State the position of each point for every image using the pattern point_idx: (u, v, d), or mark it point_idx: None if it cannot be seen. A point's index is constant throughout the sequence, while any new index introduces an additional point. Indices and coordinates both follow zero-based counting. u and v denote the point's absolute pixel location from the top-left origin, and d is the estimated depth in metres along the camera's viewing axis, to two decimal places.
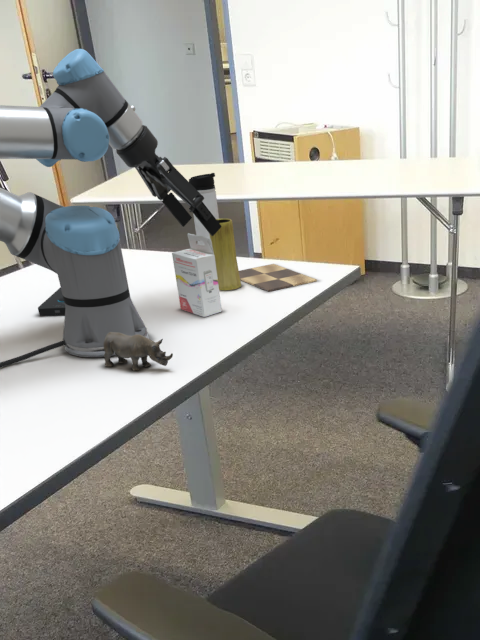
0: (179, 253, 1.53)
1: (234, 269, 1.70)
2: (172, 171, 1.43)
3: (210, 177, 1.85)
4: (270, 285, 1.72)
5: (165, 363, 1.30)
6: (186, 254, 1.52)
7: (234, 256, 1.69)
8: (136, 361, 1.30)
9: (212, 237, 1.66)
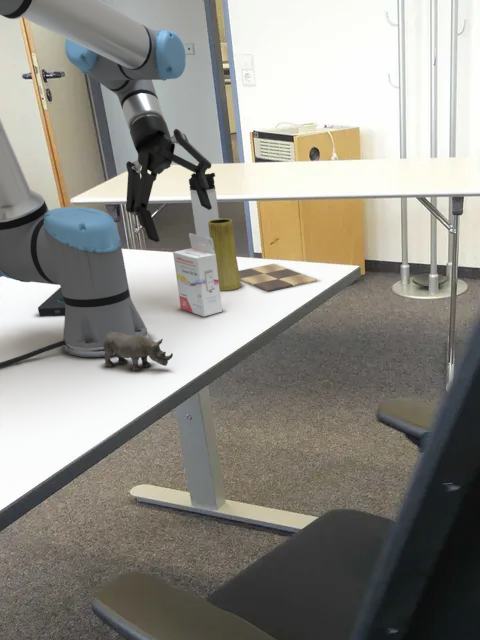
0: (180, 252, 1.53)
1: (234, 269, 1.70)
2: (187, 141, 1.49)
3: (210, 177, 1.85)
4: (270, 285, 1.72)
5: (165, 363, 1.30)
6: (187, 253, 1.52)
7: (234, 256, 1.69)
8: (136, 361, 1.30)
9: (212, 237, 1.66)
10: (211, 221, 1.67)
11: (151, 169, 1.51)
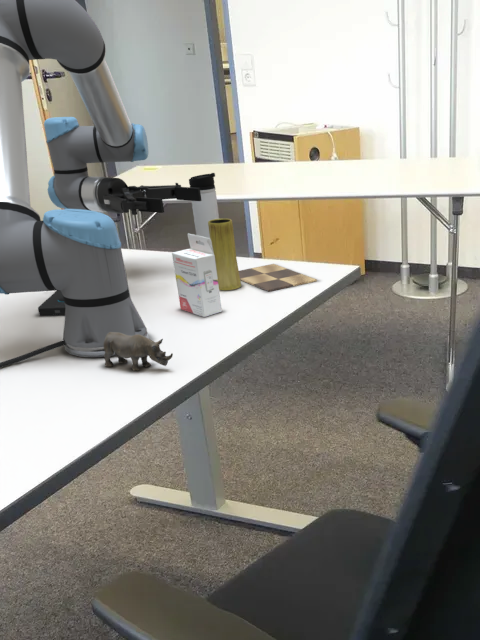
0: (179, 253, 1.53)
1: (234, 269, 1.70)
2: None
3: (210, 177, 1.85)
4: (270, 285, 1.72)
5: (165, 363, 1.30)
6: (186, 254, 1.52)
7: (234, 256, 1.69)
8: (136, 361, 1.30)
9: (212, 237, 1.66)
10: (211, 221, 1.67)
11: (131, 194, 1.70)
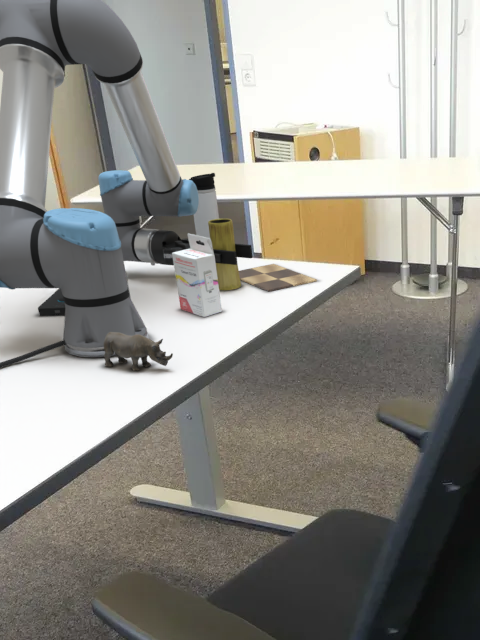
0: (179, 253, 1.53)
1: (234, 269, 1.70)
2: None
3: (210, 177, 1.85)
4: (270, 285, 1.72)
5: (165, 363, 1.30)
6: (186, 254, 1.52)
7: None
8: (136, 361, 1.30)
9: (212, 237, 1.66)
10: (211, 221, 1.67)
11: None
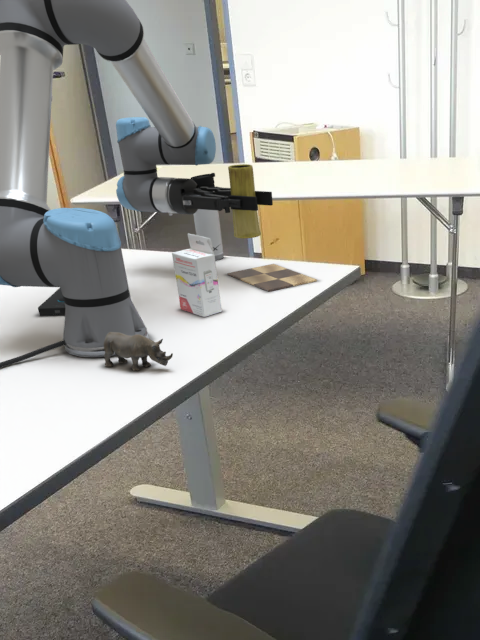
0: (179, 253, 1.53)
1: (254, 216, 1.67)
2: None
3: (210, 177, 1.85)
4: (270, 285, 1.72)
5: (165, 363, 1.30)
6: (186, 254, 1.52)
7: None
8: (136, 361, 1.30)
9: (232, 183, 1.64)
10: (231, 167, 1.64)
11: None
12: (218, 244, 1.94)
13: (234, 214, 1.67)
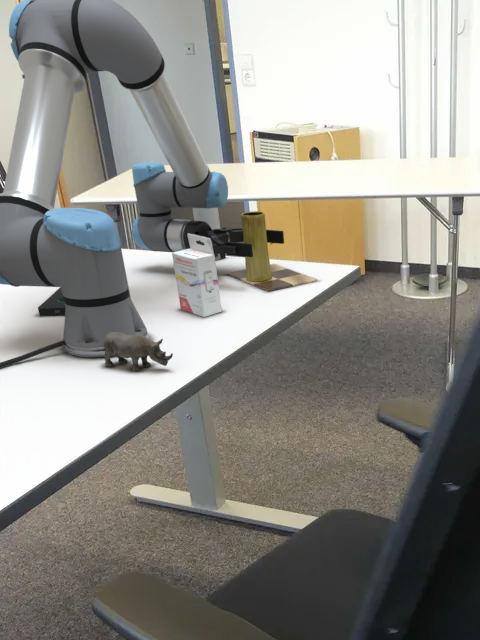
0: (179, 253, 1.53)
1: (266, 261, 1.74)
2: None
3: None
4: (270, 285, 1.72)
5: (165, 363, 1.30)
6: (186, 254, 1.52)
7: (266, 248, 1.73)
8: (136, 361, 1.30)
9: (245, 229, 1.70)
10: (244, 214, 1.71)
11: (217, 237, 1.75)
12: None
13: (247, 258, 1.73)
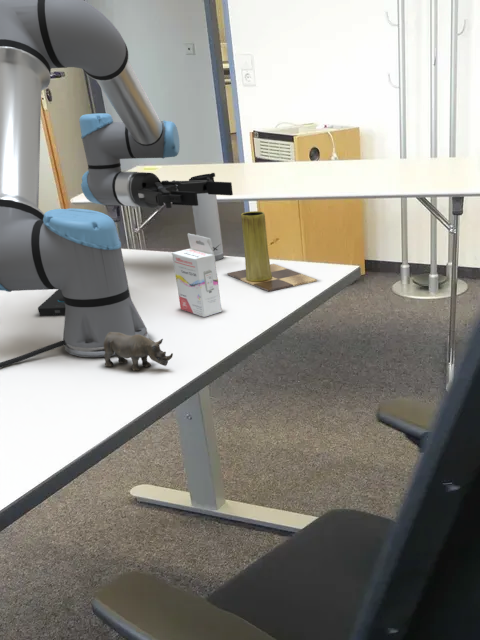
0: (179, 253, 1.53)
1: (266, 261, 1.74)
2: None
3: (210, 177, 1.85)
4: (270, 285, 1.72)
5: (165, 363, 1.30)
6: (186, 254, 1.52)
7: (266, 248, 1.73)
8: (136, 361, 1.30)
9: (245, 229, 1.70)
10: (244, 214, 1.71)
11: (165, 188, 1.74)
12: (218, 244, 1.94)
13: (247, 258, 1.73)
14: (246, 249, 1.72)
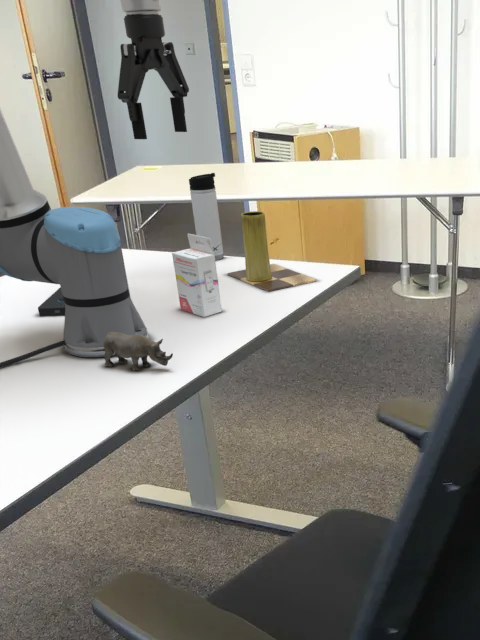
0: (179, 253, 1.53)
1: (266, 261, 1.74)
2: (127, 58, 1.48)
3: (210, 177, 1.85)
4: (270, 285, 1.72)
5: (165, 363, 1.30)
6: (186, 254, 1.52)
7: (266, 248, 1.73)
8: (136, 361, 1.30)
9: (245, 229, 1.70)
10: (244, 214, 1.71)
11: None
12: (218, 244, 1.94)
13: (247, 258, 1.73)
14: (246, 249, 1.72)
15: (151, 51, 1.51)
